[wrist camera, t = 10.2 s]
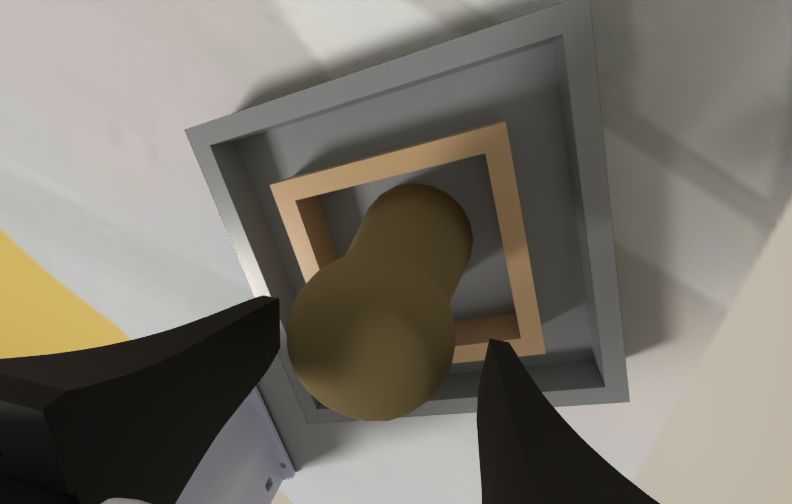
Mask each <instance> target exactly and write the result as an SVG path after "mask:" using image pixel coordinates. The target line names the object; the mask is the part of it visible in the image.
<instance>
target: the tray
mask: <svg viewBox="0 0 792 504" xmlns="http://www.w3.org/2000/svg"><path fill="white" fill-rule="evenodd" d="M185 133H186V135H187V137H188V140H189V142H190V145H191V147H192V149H193V152H194V154H195V156H196V159H197V161H198V164H199V166H200V168H201V171H202V173H203V176H204V178H205V180H206V183H207V185H208V187H209V190H210V192H211V195H212V197H213V199H214V202H215V204H216V206H217V209H218V211H219V214H220V216H221V218H222V221H223V223H224V226H225V228H226V230H227V233H228V235H229V237H230V240H231V242H232V245H233V247H234V249H235V252H236V254H237V257H238V259H239V261H240V264H241V266H242V268H243V271H244V273H245V276H246V278H247V280H248V283H249V285H250V287H251V290H252V292H253V295H254V297H255V298H256V297H259V296H263V295H264V296H269V297H274V298H279V302H280V349H279V351H278V354H279V357H280V359H281V361H282V364H283V366H284V368H285V371H286V373H287V376H288V378H289V380H290V383H291V385H292V388H293V390H294V392H295V395H296V397H297V399H298V402H299V404H300V407H301V409H302V411H303V414H304V416H305V418H306V421H307V423H308V424H309V423H324V422H339V421H354V420H360V419H356V418H352V417H347V416H344V415H342V414H340V413H338V412H336V411H334V410H332V409H330V408H328V407H326V406H324V405H323V404H322V403H321V402H320V401H318V400H317V399H316V398H315V397H314V396H312V395H311V394H310V393H309V392H308V391H307V390H306V389H305V387H304V386H303V384H302V383H301V382H300V380H299V379H298V377H297V376H296V375H295V372H294V369H293V367H292V364H291V361H290V358H289V355H288V349H287V321H288V318H289V316H290V313H291V310H292V307H293V305H294V302H295V300H296V297H297V294H298V292H299V291H300V290H301V289H302V288H303V287H304V286H305V284H306V283H307V282H308V281H309V280H310V279H311V278H312V277H313V276H314V275H315V274H316V273H317V272H318V271H319V270H320V269H321V268H322V267H324V266H326V265H328V264H330V263H332V262H334V261H336V260H338V259H340V258H342V257H345V255H346V253H347V251H348V249H349V247H350V245H351V243H352V241H353V239H354V237H355V235H356V233H357V231H358V229H359V226H360V224H361V222H362V220H363V218H364V216H365V214H366V212H367V210H368V208H369V207H370V206H371V204H372V203H373V202H374V201H375V200H376V199H377V198H378V197H379V196H380V195H381V194H383V193H385V192H386V191H388V190H390V189H392V188H394V187H396V186H401V185H407V184H412V183H414V184H422V185H429V186H433V187H435V188H437V189H439V190H441V191H443V192H445V193H447V194H449V195H450V196H451V197H452V198H453V199H454V200H455V201H456V202H457V203H458V204H459V205H461V206H462V208H463V210H464V212H465V214H466V215H467V217H468V219H469V221H470V223H471V229H472V236H473V244H472V250H471V255H470V259H469V261H468V263H467V265H466V268H465V270H464V272H463V275H462V277H461V279H460V281H459V284H458V286H457V288H456V291H455V293H454V295H453V297H452V300H451V302H450V304H449V306H450V308H451V311H452V316H453V321H454V326H455V332H456V342H455V350H454V355H453V360H452V366H451V369H450V371H449V373H448V375H447V376H446V378H445V380H444V381H443V383H442V385H441V386H440V388H439V389H438V391H437V392H436V394H435V395H434V397H432V398H431V399H430V400H428V401H427V402H426V403H424V404H423V405H421V406H420V407H419V408H417V409H416V410H414V411H413V412H411V413H409V414H408V415H404V416H401V417H413V416H428V415H443V414H458V413H473V412H477V402H478V388H479V383H480V379H481V374H482V370H483V365H484V361H485V356H486V352H487V347H488V343H489V338H490V339H495V340H501V341H506V342H509V343H510V344H511V346H512V347H513V349H514V351H515V352H516V354H517V356H518V357H519V359H520V361H521V362H522V364H523V365H524V367H525V368H526V370H527V372H528V373H529V375H530V376H531V378H532V379H533V380H534V382H535V383H536V385H537V386H538V388H539V389H540V390H541V392H542V393H543V395H544V396H545V397H546V398H547V400H548V401H549V402H550V403H551V405H552V406H553V407H562V406H577V405H591V404H606V403H621V402H630V400H629V390H628V380H627V370H626V360H625V350H624V340H623V330H622V320H621V310H620V299H619V289H618V279H617V269H616V259H615V249H614V239H613V229H612V219H611V209H610V199H609V189H608V178H607V168H606V158H605V148H604V138H603V128H602V118H601V108H600V98H599V88H598V78H597V68H596V57H595V47H594V37H593V27H592V17H591V7H590V0H569V1H566V2H563V3H560V4H557V5H554V6H551V7H548V8H545V9H542V10H539V11H536V12H533V13H530V14H527V15H524V16H521V17H519V18H516V19H513V20H510V21H507V22H504V23H501V24H498V25H495V26H492V27H489V28H486V29H483V30H480V31H477V32H474V33H471V34H468V35H465V36H462V37H459V38H456V39H453V40H450V41H447V42H444V43H441V44H438V45H435V46H432V47H429V48H426V49H423V50H420V51H417V52H414V53H411V54H408V55H406V56H403V57H400V58H397V59H394V60H391V61H388V62H385V63H382V64H379V65H376V66H373V67H370V68H367V69H364V70H361V71H358V72H355V73H352V74H349V75H346V76H343V77H340V78H337V79H334V80H331V81H328V82H325V83H322V84H319V85H316V86H313V87H310V88H307V89H304V90H301V91H298V92H295V93H292V94H290V95H287V96H284V97H281V98H278V99H275V100H272V101H269V102H266V103H263V104H260V105H257V106H254V107H251V108H248V109H245V110H242V111H239V112H236V113H233V114H230V115H227V116H224V117H221V118H218V119H215V120H212V121H209V122H206V123H203V124H200V125H197V126H194V127H191V128H188V129H185Z"/></svg>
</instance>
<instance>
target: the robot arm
mask: <svg viewBox="0 0 792 504" xmlns="http://www.w3.org/2000/svg"><path fill="white" fill-rule="evenodd" d="M279 349H280V302H279V298H274V297H269V296H264V295H263V296H259V297H256V298H253V299H251V300H248V301H245V302H243V303H240V304H238V305H235V306H233V307H230V308H228V309H225V310H223V311H220V312H218V313H215V314H213V315H210V316H207V317H205V318H202V319H199V320H196V321H194V322H191V323H188V324H185V325H182V326H180V327H177V328H174V329H171V330H167V331H164V332H161V333H157V334H153V335H150V336H146V337H142V338H139V339H134V340H130V341H125V342H120V343H116V344H112V345H107V346H102V347H97V348H90V349H84V350H78V351H72V352H64V353H58V354H49V355H40V356H28V357H17V358H8V359H7V358H6V359H0V504H271V502H272V500H273V498H274V496H275V494H276V492H277V490H278V488H279V486H280V484H281V482H282V481H283V480H290V479H293V477H294V475H295V470H294V468H293V466H292V464H291V461H290V459H289V457H288V455H287V453H286V450H285V448H284V446H283V444H282V442H281V439H280V437H279V435H278V433H277V431H276V428H275V426H274V424H273V422H272V420H271V417H270V415H269V413H268V411H267V409H266V406H265V404H264V402H263V400H262V398H261V395H260V393H259V391H258V389H257V387H256V385H257V384H258V382H259V381H260V380H261V378H262V377H263V376H264V374H265V373H266V372H267V370H268V368H269V367H270V365H271V363H272V362H273V360H274V358H275V357H276V355H277V353H278V351H279ZM477 430H478V444H479V458H480V471H481V485H482V504H660V503H658V502H657V501H655V500H654V499H653V498H651V497H650V496H649V495H647V494H646V493H645V492H643V491H642V490H641V489H640V488H638V487H637V486H636V485H634V484H633V483H632V482H631V481H629V480H628V479H627V478H626V477H624V476H623V475H622V474H621V473H620V472H618V471H617V470H616V469H615V468H614V467H612V466H611V465H610V464H609V463H608V462H607V461H606V460H604V459H603V458H602V457H601V456H600V455H599V454H598V453H597V452H596V451H595V450H594V449H592V448H591V447H590V446H589V445H588V444H587V443H586V442H585V441H584V440H583V439H582V438H581V437H580V436H579V435H578V434H577V433H576V432H575V431H574V430H573V429H572V427H571V426H570V425H569V424H568V423H567V422H566V421H565V420H564V419H563V418H562V417H561V416H560V414H559V413H558V412H557V411H556V410H555V408H554V407H553V406H552V405H551V403H550V402H549V401H548V400H547V398H546V397H545V396H544V395H543V393H542V392H541V390H540V389H539V388H538V386H537V385H536V383H535V382H534V380H533V379H532V378H531V376H530V375H529V373H528V372H527V370H526V368H525V367H524V365H523V364H522V362H521V361H520V359H519V357H518V356H517V354H516V352H515V351H514V349H513V347H512V346H511V344H510V343H509V342H506V341H501V340H495V339H490V338H489V343H488V347H487V352H486V356H485V361H484V365H483V370H482V374H481V379H480V383H479V388H478V402H477Z"/></svg>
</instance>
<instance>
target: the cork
mask: <svg viewBox="0 0 792 504" xmlns="http://www.w3.org/2000/svg"><path fill="white" fill-rule="evenodd" d="M472 244H473V236H472V229H471V223H470V221H469V219H468V217H467V215H466V214H465V212H464V210H463V208H462V206H461V205H459V204H458V203H457V202H456V201H455V200H454V199H453V198H452V197H451V196H450V195H449V194H447V193H445V192H443V191H441V190H439V189H437V188H435V187H433V186H429V185H422V184H414V183H412V184H407V185H401V186H396V187H394V188H392V189H390V190H388V191H386V192H385V193H383V194H381V195H380V196H379V197H378V198H377V199H376V200H375V201H374V202H373V203H372V204H371V206H370V207H369V208H368V210H367V212H366V214H365V216H364V218H363V220H362V222H361V224H360V226H359V229H358V231H357V233H356V235H355V237H354V239H353V241H352V243H351V245H350V247H349V249H348V251H347V253H346V255H345V257H342V258H340V259H338V260H336V261H334V262H332V263H330V264H328V265H326V266H324V267H322V268H321V269H320V270H319V271H318V272H317V273H316V274H315V275H314V276H313V277H312V278H311V279H310V280H309V281H308V282H307V283H306V284H305V286H304V287H303V288H302V289H301V290H300V291H299V292H298V294H297V297H296V300H295V302H294V305H293V307H292V310H291V313H290V316H289V318H288V321H287V349H288V355H289V358H290V361H291V364H292V367H293V369H294V372H295V375H296V376H297V377H298V379H299V380H300V382H301V383H302V384H303V386H304V387H305V389H306V390H307V391H308V392H309V393H310V394H311V395H312V396H314V397H315V398H316V399H317V400H318V401H320V402H321V403H322V404H323V405H324V406H326V407H328V408H330V409H332V410H334V411H336V412H338V413H340V414H342V415H344V416H347V417H352V418H356V419H360V420H364V421H388V420H392V419H395V418H398V417H401V416H404V415H408V414H409V413H411V412H413V411H414V410H416V409H417V408H419V407H420V406H421V405H423V404H424V403H426V402H427V401H428V400H430V399H431V398H432V397H434V395H435V394H436V392H437V391H438V389H439V388H440V386H441V385H442V383H443V381H444V380H445V378H446V376H447V375H448V373H449V371H450V369H451V366H452V360H453V355H454V350H455V342H456V332H455V326H454V321H453V316H452V311H451V308H450V306H449V304H450V302H451V300H452V297H453V295H454V293H455V291H456V288H457V286H458V284H459V281H460V279H461V277H462V275H463V272H464V270H465V268H466V265H467V263H468V261H469V259H470V255H471V250H472Z"/></svg>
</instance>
